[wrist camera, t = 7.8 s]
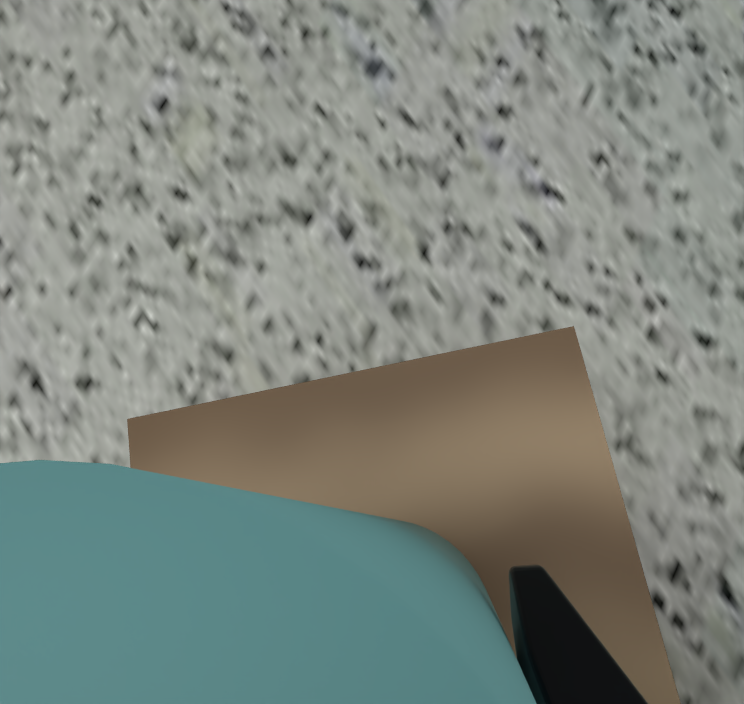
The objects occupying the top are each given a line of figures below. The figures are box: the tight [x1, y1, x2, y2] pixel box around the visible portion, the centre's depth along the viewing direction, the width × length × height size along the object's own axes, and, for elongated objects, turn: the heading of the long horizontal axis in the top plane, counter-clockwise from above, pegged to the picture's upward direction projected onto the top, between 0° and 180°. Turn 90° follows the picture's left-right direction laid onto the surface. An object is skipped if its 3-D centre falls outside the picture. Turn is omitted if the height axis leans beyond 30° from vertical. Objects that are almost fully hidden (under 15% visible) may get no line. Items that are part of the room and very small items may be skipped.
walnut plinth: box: [127, 326, 681, 704], centre depth 19 cm, size 14×14×4 cm
